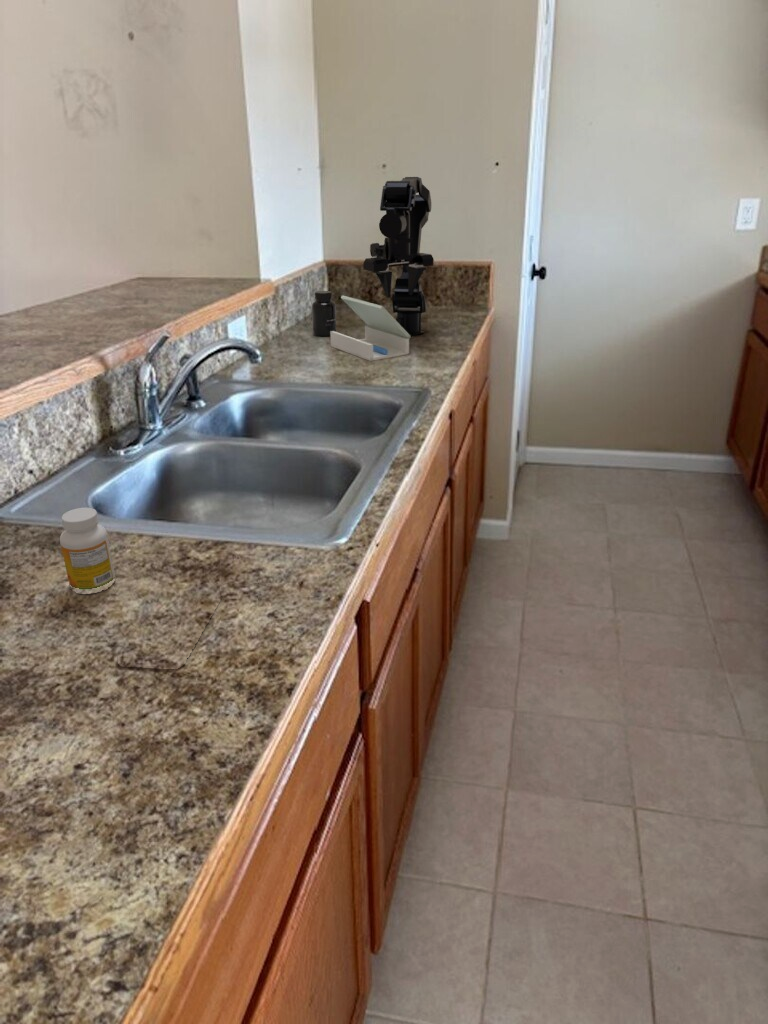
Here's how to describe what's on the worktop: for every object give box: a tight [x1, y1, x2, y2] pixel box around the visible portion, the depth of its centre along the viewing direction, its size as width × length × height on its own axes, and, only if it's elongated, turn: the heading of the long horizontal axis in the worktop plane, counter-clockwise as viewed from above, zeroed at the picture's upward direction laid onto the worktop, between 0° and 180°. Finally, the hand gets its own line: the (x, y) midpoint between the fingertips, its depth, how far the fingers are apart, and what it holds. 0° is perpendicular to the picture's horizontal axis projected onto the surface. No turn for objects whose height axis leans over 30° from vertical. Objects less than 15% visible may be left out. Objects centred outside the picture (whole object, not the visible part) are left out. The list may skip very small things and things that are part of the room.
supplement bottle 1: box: [59, 507, 116, 589], centre depth 93 cm, size 5×5×10 cm
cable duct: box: [329, 325, 410, 362], centre depth 203 cm, size 12×20×4 cm, turn 33°
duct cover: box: [340, 295, 411, 340], centre depth 201 cm, size 12×20×1 cm
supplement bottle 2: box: [311, 290, 337, 337], centre depth 219 cm, size 7×7×12 cm
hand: (399, 296), depth 203 cm, fingers open, 7 cm apart
